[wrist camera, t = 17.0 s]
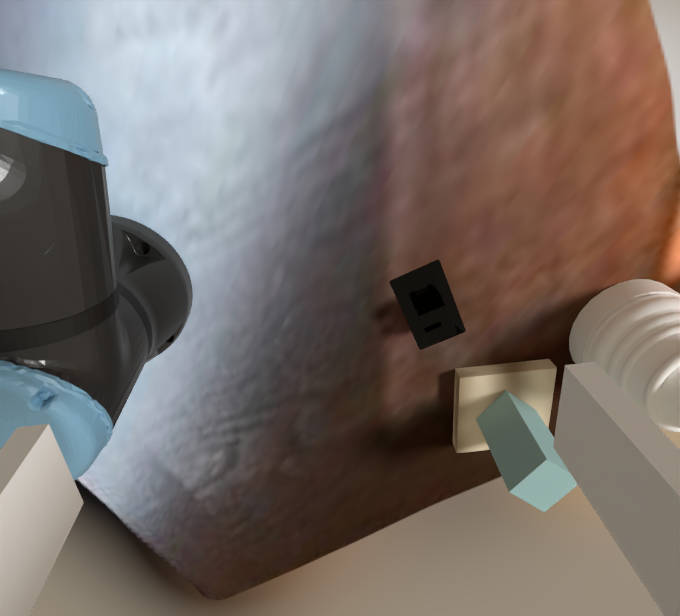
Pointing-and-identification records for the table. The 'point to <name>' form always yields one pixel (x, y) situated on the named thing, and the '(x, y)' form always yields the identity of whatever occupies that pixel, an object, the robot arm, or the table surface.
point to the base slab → (488, 384)
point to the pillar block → (525, 452)
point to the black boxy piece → (428, 304)
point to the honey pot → (635, 345)
